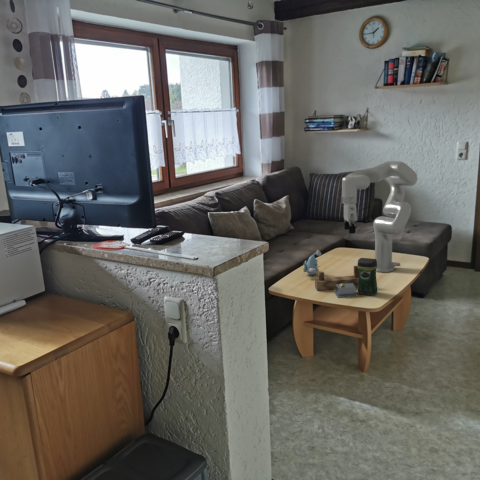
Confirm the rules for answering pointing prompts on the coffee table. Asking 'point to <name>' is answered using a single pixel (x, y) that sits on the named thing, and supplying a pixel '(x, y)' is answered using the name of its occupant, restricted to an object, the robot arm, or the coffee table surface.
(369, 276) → the coffee jar
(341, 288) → the lever cap
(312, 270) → the toy figure
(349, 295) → the mat
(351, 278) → the brown long u-shaped block
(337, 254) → the coffee table surface
